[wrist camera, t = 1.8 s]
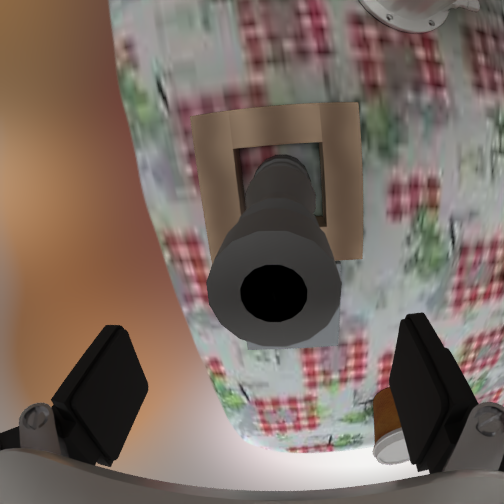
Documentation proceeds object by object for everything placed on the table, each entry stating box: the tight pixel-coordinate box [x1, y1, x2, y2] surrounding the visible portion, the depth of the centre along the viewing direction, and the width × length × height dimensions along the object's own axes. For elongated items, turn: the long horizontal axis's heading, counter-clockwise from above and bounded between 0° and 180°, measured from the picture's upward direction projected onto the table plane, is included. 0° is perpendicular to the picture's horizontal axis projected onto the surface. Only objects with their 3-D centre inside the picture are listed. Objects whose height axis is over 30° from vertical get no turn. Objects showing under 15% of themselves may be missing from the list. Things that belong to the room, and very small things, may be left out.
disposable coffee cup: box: [373, 387, 410, 465], centre depth 43 cm, size 10×10×12 cm
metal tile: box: [247, 261, 341, 350], centre depth 42 cm, size 13×13×1 cm
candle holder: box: [206, 155, 342, 347], centre depth 25 cm, size 6×6×25 cm
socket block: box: [190, 102, 363, 264], centre depth 34 cm, size 17×17×4 cm
